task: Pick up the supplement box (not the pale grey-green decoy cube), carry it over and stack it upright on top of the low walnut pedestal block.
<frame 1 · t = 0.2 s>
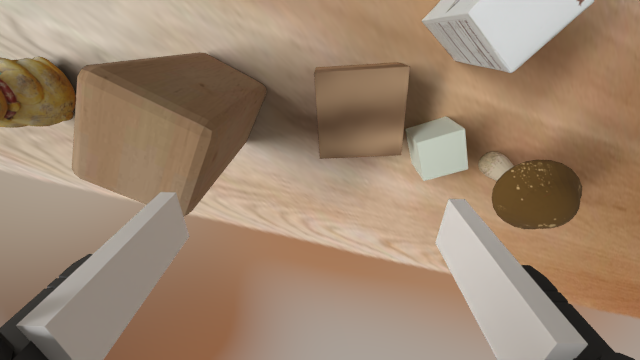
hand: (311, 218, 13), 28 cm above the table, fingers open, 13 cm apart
base block: (356, 105, 38), on the table
mushroom: (488, 160, 41), on the table
decoy cube: (427, 140, 40), on the table
supplement box: (460, 17, 32), on the table
wooden block: (225, 100, 38), on the table
decorative figurine: (60, 90, 38), on the table
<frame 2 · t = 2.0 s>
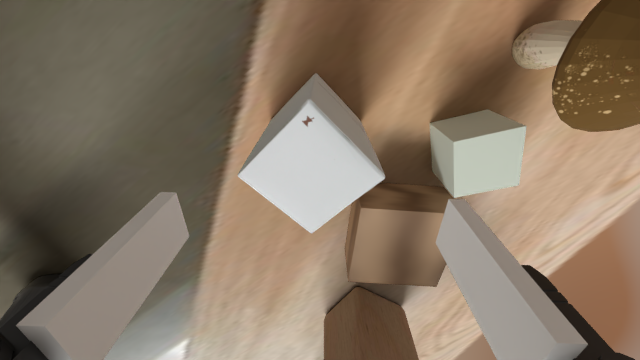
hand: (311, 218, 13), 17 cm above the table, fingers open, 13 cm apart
base block: (390, 218, 34), on the table
mushroom: (528, 41, 24), on the table
decoy cube: (457, 141, 29), on the table
supplement box: (315, 121, 28), on the table
wooden block: (362, 309, 44), on the table
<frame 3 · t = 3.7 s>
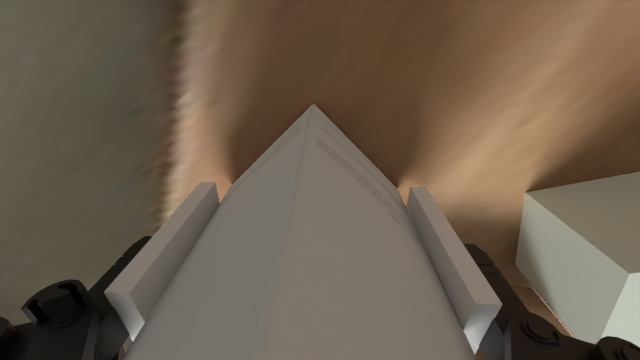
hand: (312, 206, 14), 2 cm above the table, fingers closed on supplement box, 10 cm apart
base block: (433, 323, 22), on the table
decoy cube: (570, 222, 16), on the table
supplement box: (314, 187, 15), on the table, touching gripper
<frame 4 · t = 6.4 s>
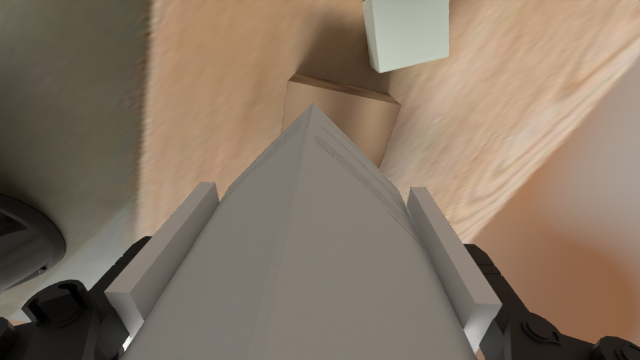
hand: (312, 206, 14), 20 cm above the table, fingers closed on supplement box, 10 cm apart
base block: (331, 128, 32), on the table
decoy cube: (395, 29, 27), on the table
supplement box: (313, 187, 15), point 18 cm above the table, touching gripper
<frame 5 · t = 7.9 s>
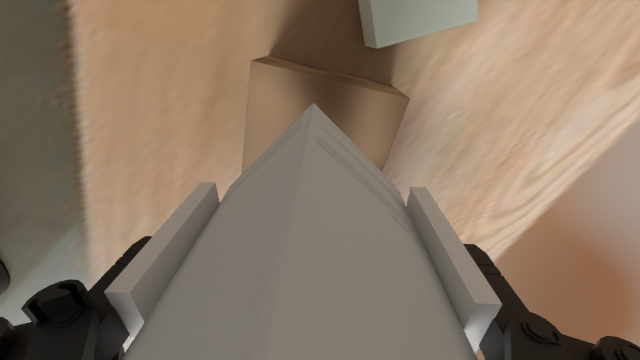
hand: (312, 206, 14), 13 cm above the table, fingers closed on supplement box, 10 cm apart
base block: (317, 129, 25), on the table
supplement box: (314, 187, 15), point 11 cm above the table, touching gripper
when the fingers open (9 cm above the table, at t = 9.1 s): supplement box drops 2 cm, resting on base block.
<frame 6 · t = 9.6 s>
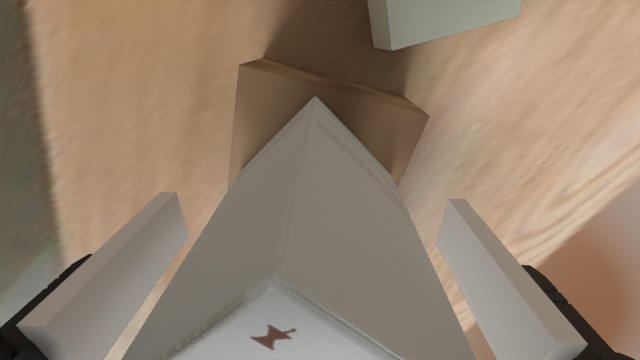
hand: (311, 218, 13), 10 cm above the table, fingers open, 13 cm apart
base block: (317, 143, 22), on the table, touching supplement box
supplement box: (315, 173, 17), point 5 cm above the table, touching base block
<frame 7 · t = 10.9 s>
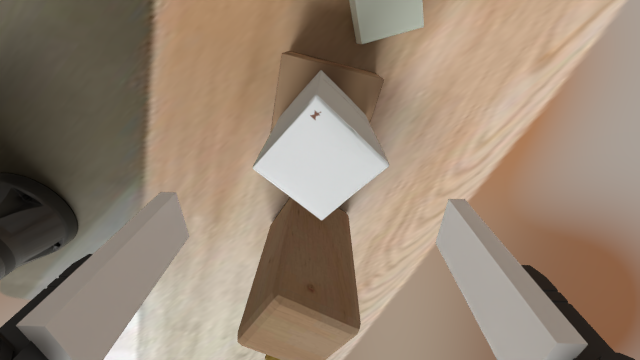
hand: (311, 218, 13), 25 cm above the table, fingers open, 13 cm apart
base block: (322, 105, 35), on the table, touching supplement box
decoy cube: (377, 6, 29), on the table
supplement box: (322, 117, 30), point 5 cm above the table, touching base block
wooden block: (309, 218, 44), on the table
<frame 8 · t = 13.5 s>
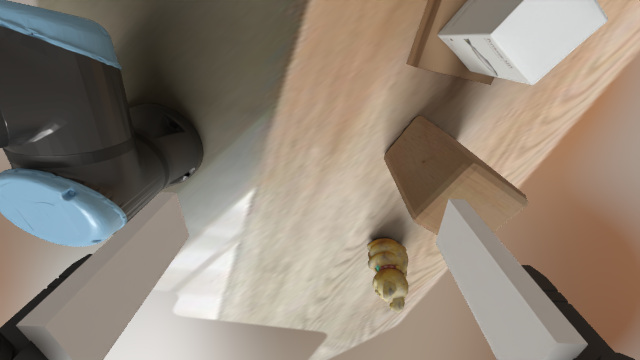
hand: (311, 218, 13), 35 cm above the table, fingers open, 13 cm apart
base block: (453, 32, 39), on the table, touching supplement box
supplement box: (474, 30, 34), point 5 cm above the table, touching base block
wooden block: (418, 148, 48), on the table
decorative figurine: (385, 245, 60), on the table
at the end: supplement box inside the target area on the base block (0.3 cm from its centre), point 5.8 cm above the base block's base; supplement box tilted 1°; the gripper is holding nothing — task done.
